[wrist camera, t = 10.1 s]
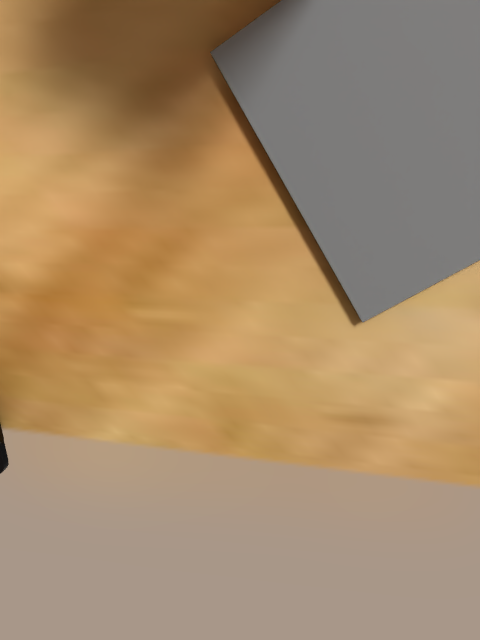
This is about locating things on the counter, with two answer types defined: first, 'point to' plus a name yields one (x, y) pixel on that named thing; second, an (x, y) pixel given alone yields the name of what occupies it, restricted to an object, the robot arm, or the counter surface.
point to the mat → (371, 133)
